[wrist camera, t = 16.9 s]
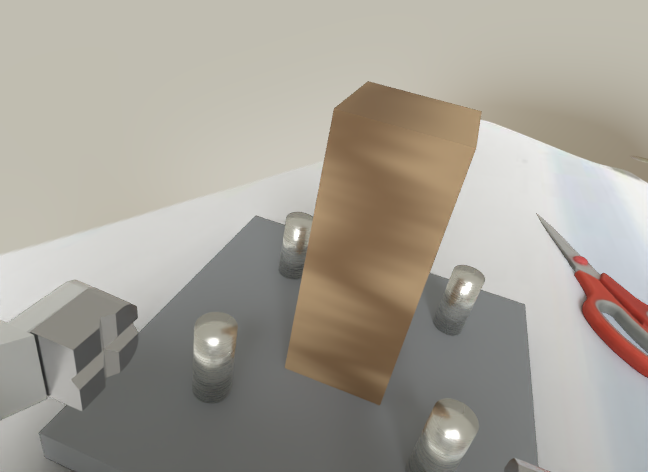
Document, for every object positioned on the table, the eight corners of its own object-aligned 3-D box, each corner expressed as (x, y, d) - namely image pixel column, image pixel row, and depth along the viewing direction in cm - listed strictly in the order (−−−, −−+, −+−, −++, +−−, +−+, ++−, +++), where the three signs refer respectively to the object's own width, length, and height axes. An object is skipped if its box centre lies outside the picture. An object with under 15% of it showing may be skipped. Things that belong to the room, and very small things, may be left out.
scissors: (535, 209, 45) (541, 196, 45) (739, 385, 29) (755, 369, 28) (466, 207, 43) (472, 193, 42) (647, 396, 26) (661, 379, 26)
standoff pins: (462, 320, 26) (485, 271, 24) (444, 502, 17) (478, 446, 15) (284, 259, 28) (292, 209, 26) (184, 394, 19) (185, 332, 17)
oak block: (398, 338, 24) (481, 111, 18) (379, 405, 20) (476, 148, 14) (317, 308, 25) (367, 81, 18) (284, 367, 21) (334, 108, 15)
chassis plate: (515, 322, 29) (524, 304, 28) (533, 686, 14) (555, 670, 13) (253, 233, 32) (255, 215, 32) (44, 457, 17) (38, 432, 17)
